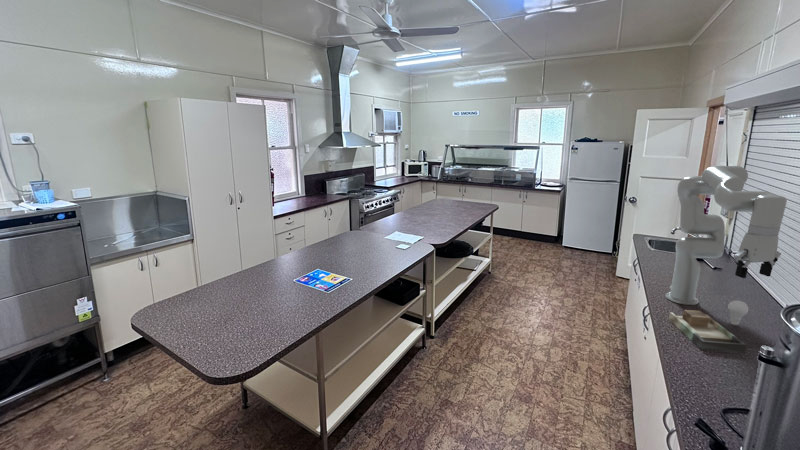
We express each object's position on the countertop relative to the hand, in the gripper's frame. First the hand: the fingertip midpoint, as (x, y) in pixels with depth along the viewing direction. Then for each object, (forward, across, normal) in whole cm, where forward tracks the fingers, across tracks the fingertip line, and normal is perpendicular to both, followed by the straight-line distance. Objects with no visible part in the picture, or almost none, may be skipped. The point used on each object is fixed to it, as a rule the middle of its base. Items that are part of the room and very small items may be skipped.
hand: (752, 275), depth 126 cm
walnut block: (+27, +3, -14) cm, 30 cm away
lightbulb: (+29, -14, -13) cm, 35 cm away
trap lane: (+29, +5, -8) cm, 30 cm away
